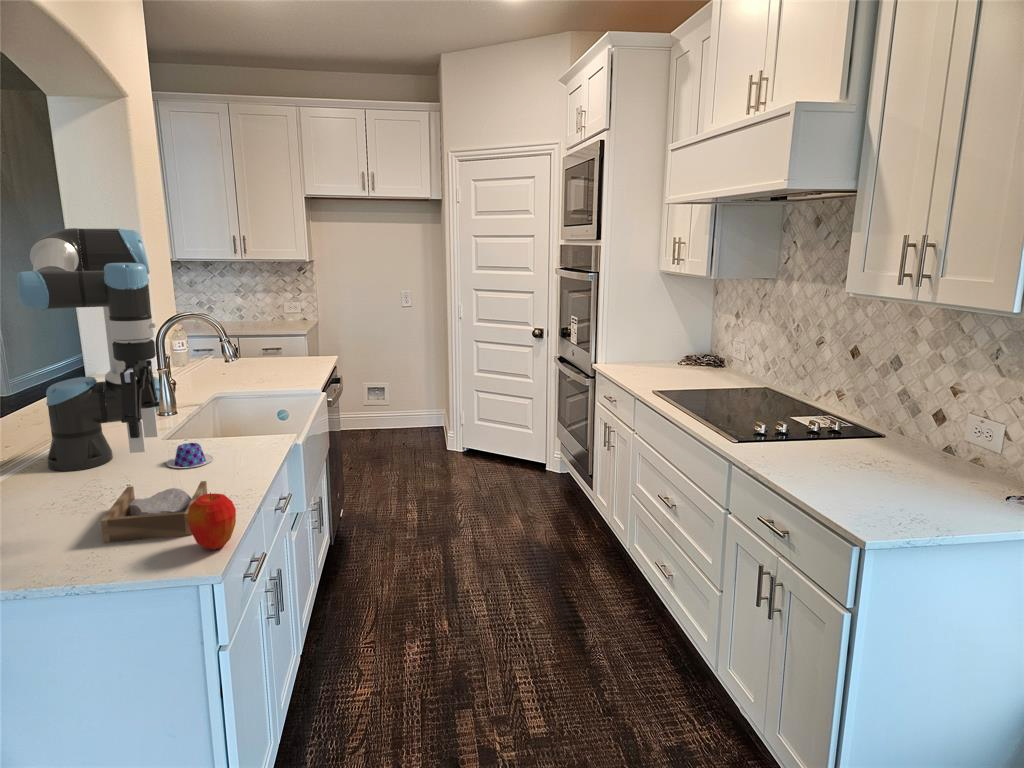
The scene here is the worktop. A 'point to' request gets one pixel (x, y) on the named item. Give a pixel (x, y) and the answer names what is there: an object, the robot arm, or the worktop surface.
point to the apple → (212, 520)
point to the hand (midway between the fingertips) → (144, 444)
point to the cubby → (144, 520)
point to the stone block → (161, 503)
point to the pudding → (189, 456)
